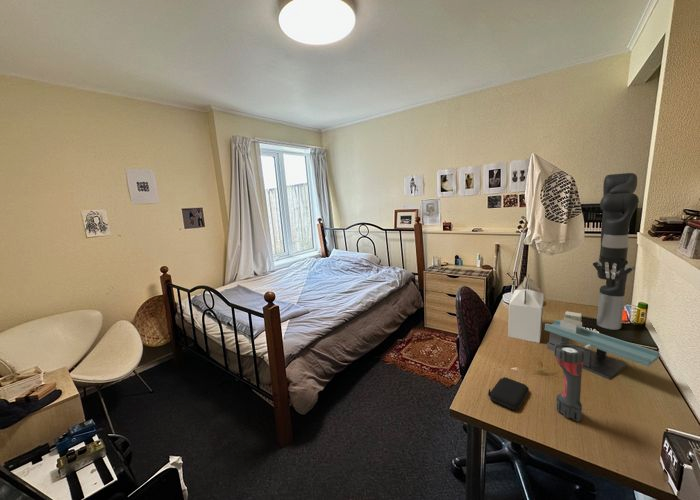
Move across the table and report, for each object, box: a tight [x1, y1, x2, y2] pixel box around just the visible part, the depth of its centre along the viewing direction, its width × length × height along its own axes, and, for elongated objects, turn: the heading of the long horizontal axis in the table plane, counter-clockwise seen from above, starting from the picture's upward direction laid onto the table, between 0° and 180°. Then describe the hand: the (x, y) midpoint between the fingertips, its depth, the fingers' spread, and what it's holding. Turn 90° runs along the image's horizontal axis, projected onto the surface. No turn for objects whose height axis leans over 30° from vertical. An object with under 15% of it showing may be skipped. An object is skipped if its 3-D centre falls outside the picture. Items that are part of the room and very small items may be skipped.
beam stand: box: [546, 341, 628, 380], centre depth 121 cm, size 15×24×8 cm, turn 27°
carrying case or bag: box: [487, 376, 530, 411], centre depth 104 cm, size 11×3×15 cm
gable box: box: [507, 274, 545, 344], centre depth 145 cm, size 22×13×28 cm, turn 144°
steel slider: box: [559, 318, 583, 334], centre depth 123 cm, size 5×6×5 cm
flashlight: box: [553, 342, 585, 423], centre depth 92 cm, size 8×8×23 cm
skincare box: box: [563, 311, 583, 322], centre depth 136 cm, size 6×4×12 cm
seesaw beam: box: [544, 319, 660, 367], centre depth 116 cm, size 14×34×9 cm, turn 27°
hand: (610, 286), depth 116 cm, fingers closed
